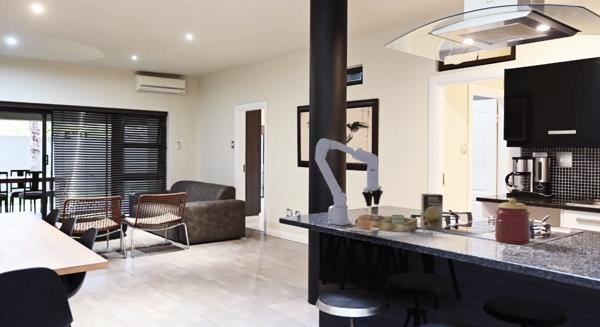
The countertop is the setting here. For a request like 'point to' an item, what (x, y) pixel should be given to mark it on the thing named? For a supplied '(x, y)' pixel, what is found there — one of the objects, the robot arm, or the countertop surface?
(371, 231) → the ceramic tile
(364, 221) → the terracotta pot
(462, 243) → the countertop surface
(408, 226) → the compartment tray
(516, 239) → the canister
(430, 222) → the coffee box
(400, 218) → the sage pot
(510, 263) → the countertop surface
